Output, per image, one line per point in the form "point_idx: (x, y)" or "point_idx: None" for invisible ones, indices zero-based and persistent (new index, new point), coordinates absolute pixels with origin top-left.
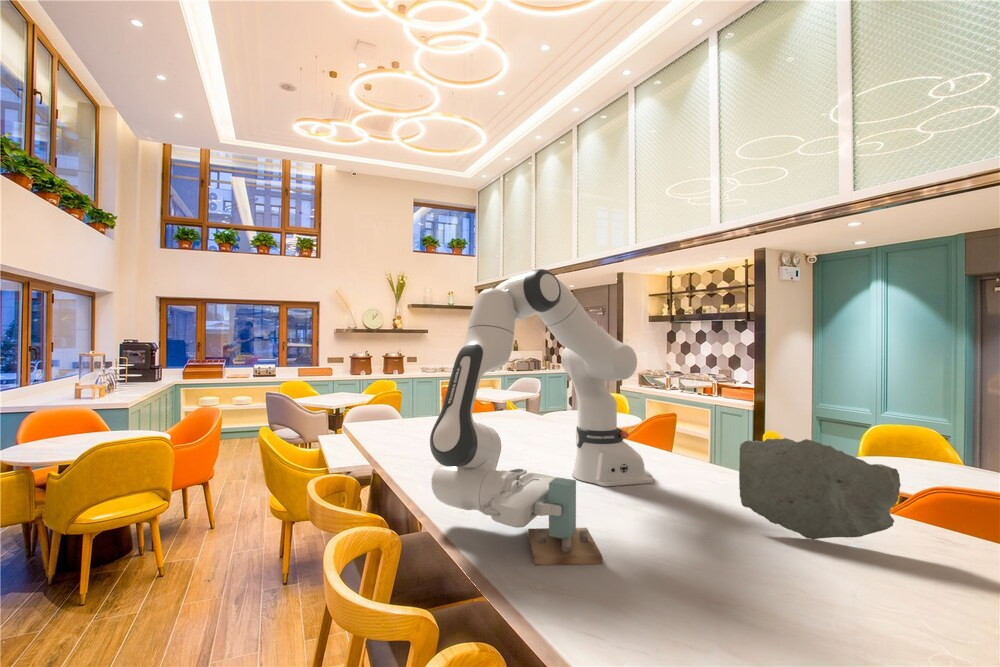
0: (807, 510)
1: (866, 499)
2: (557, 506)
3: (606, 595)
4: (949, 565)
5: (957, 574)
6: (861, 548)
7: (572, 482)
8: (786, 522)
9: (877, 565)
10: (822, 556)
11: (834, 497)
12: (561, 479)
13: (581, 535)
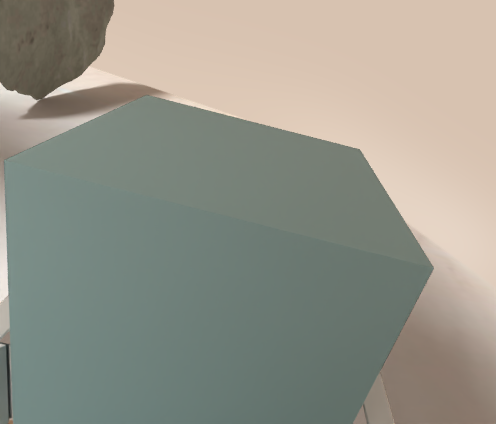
0: (44, 51)
1: (96, 17)
2: (380, 382)
3: (421, 369)
4: (115, 82)
5: (135, 87)
6: (74, 91)
7: (237, 118)
8: (23, 82)
9: (124, 102)
10: (104, 113)
11: (71, 21)
12: (148, 145)
13: None
